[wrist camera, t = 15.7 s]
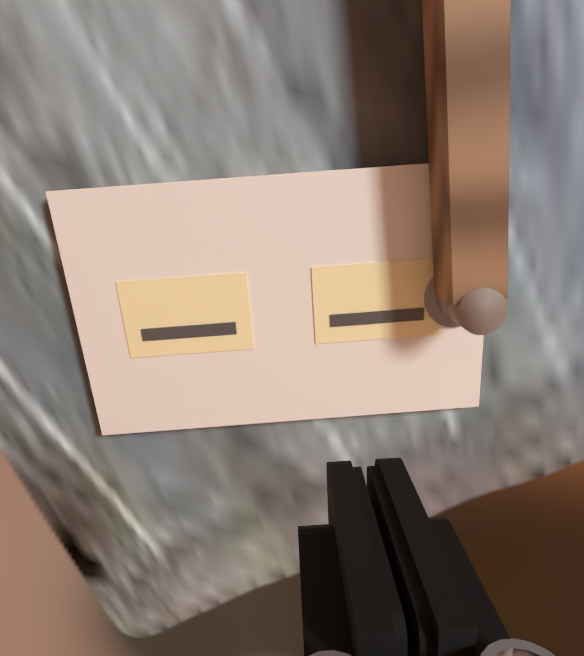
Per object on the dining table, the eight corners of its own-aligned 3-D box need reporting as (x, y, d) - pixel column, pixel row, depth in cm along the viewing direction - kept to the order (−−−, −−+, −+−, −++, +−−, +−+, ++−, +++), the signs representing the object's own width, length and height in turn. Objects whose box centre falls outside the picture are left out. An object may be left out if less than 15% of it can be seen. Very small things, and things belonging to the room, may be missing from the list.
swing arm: (483, 314, 27) (510, 331, 24) (435, 321, 27) (456, 338, 24) (479, -177, 20) (518, -250, 17) (414, -167, 20) (441, -237, 17)
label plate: (108, 426, 31) (100, 437, 29) (56, 191, 26) (42, 191, 24) (471, 398, 31) (480, 408, 29) (486, 159, 26) (498, 157, 24)
